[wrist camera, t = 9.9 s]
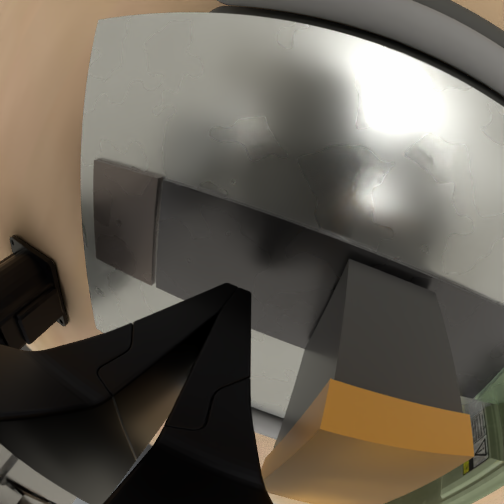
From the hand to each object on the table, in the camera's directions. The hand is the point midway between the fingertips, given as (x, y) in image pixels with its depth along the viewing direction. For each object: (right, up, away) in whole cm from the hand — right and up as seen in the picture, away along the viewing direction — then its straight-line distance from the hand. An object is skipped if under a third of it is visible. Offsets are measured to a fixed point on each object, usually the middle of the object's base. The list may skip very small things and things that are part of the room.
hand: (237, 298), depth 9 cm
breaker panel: (+5, 0, +2) cm, 5 cm away
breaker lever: (+4, -1, 0) cm, 4 cm away
